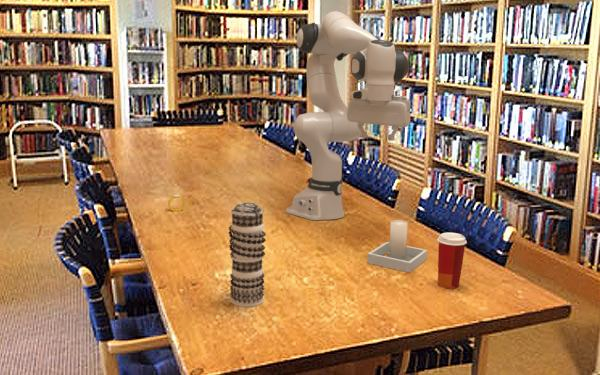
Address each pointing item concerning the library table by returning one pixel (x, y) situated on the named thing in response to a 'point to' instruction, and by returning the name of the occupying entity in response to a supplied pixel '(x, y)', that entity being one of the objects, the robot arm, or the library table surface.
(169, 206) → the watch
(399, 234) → the white pillar candle
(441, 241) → the paper cup
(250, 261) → the decorative candle
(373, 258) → the corral
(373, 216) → the library table surface
